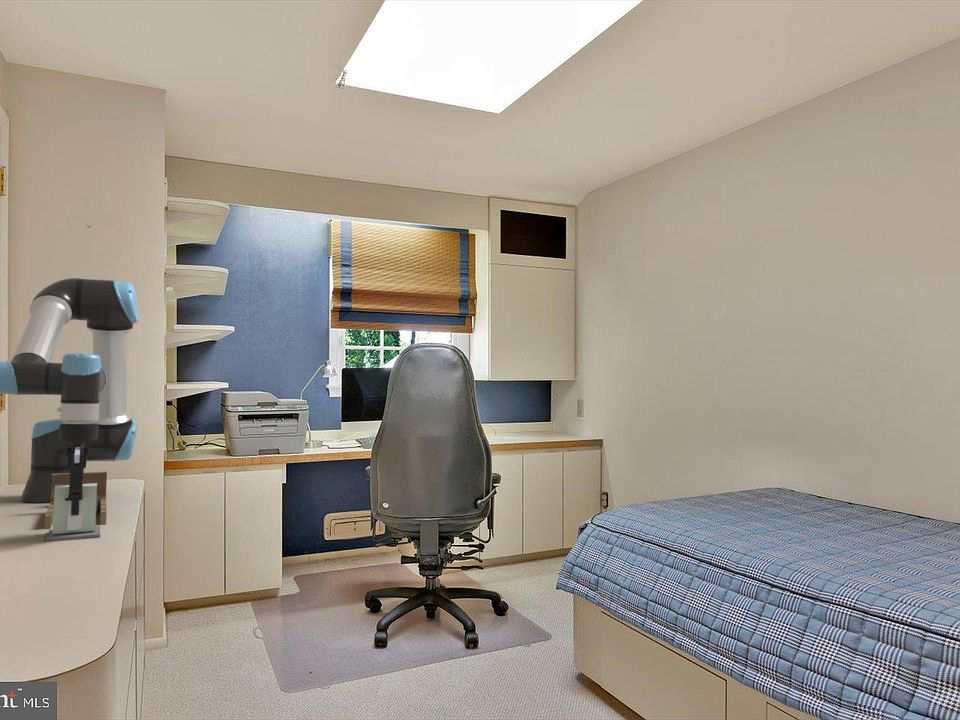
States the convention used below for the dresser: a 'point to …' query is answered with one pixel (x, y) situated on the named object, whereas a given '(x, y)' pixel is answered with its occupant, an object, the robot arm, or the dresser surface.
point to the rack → (87, 479)
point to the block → (62, 508)
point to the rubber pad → (73, 535)
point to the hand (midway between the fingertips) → (74, 527)
